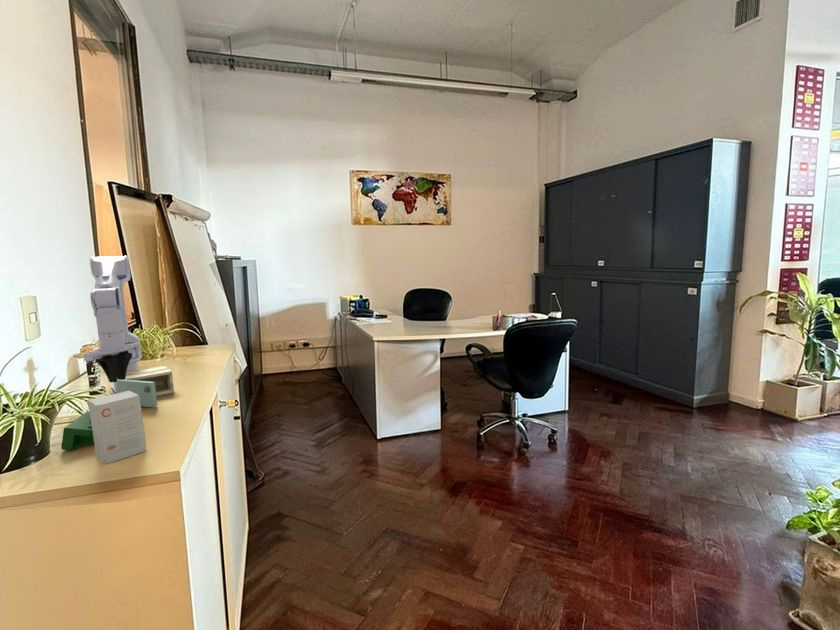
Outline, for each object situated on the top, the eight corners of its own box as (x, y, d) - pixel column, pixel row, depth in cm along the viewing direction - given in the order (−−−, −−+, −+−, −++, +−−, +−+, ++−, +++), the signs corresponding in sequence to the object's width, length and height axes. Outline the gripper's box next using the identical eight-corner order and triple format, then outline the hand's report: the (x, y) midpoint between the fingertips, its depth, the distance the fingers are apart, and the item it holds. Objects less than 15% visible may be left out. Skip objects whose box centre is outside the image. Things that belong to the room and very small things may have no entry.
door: (122, 402, 132) (119, 379, 131) (157, 406, 128) (154, 381, 127) (117, 404, 131) (113, 380, 130) (152, 408, 126) (149, 383, 125)
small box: (137, 444, 103) (130, 389, 101) (147, 451, 98) (140, 394, 97) (95, 457, 96) (87, 399, 95) (104, 465, 92) (95, 405, 91)
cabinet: (117, 395, 140) (114, 374, 139) (166, 385, 149) (164, 365, 148) (122, 403, 133) (119, 380, 132) (174, 392, 142) (171, 371, 141)
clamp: (92, 464, 103) (91, 436, 99) (62, 462, 101) (59, 433, 97) (115, 427, 113) (114, 400, 109) (88, 424, 111) (86, 397, 107)
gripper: (94, 337, 112) (101, 389, 114) (145, 328, 126) (151, 374, 128) (75, 337, 115) (82, 387, 117) (127, 327, 128) (133, 373, 130)
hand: (117, 380), depth 122 cm, fingers closed
